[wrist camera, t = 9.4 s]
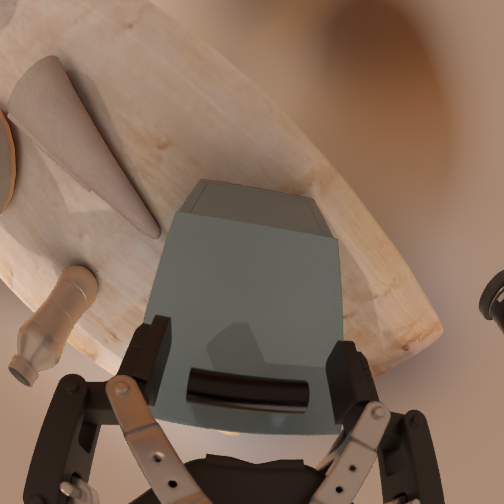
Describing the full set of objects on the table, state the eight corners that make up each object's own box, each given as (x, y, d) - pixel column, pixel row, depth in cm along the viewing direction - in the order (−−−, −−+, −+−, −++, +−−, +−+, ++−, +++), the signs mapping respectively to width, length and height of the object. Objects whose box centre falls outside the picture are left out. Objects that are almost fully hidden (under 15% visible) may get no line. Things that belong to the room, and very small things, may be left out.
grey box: (285, 295, 38) (292, 350, 30) (191, 280, 37) (174, 333, 29) (313, 198, 32) (334, 238, 23) (200, 179, 31) (177, 212, 22)
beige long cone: (199, 213, 28) (33, 55, 16) (146, 260, 31) (-3, 120, 18) (204, 185, 34) (68, 55, 22) (159, 226, 37) (33, 107, 25)
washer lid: (336, 433, 15) (377, 435, 10) (128, 410, 14) (99, 408, 10) (334, 244, 23) (359, 204, 19) (176, 217, 22) (172, 170, 18)
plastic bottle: (91, 257, 36) (16, 359, 19) (108, 294, 39) (51, 399, 22) (62, 262, 37) (-10, 352, 19) (79, 296, 40) (22, 390, 23)
